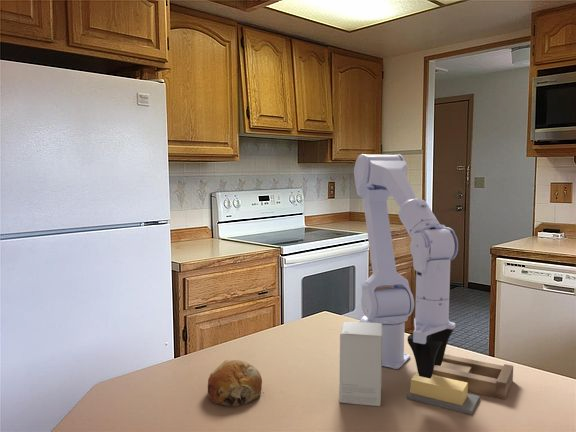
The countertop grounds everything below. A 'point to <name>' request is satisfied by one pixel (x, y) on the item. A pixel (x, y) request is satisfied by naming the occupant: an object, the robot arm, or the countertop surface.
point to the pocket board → (477, 375)
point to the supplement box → (360, 363)
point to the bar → (440, 388)
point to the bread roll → (234, 383)
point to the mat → (465, 408)
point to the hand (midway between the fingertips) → (430, 370)
